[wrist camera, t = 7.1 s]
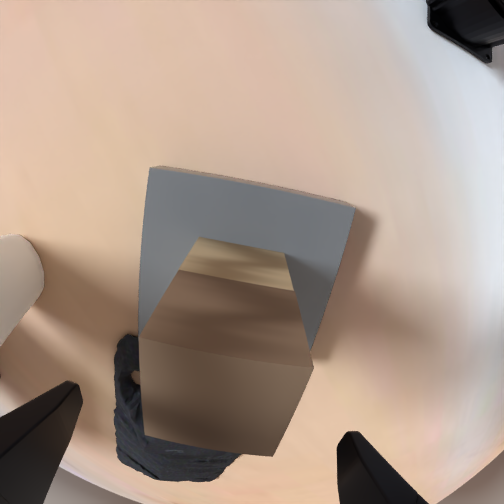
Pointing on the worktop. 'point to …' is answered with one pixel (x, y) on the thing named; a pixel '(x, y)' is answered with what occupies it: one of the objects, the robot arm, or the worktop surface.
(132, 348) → the dark slate chunk
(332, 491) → the worktop surface
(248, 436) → the walnut block
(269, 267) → the oak block
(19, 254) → the foam cup
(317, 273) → the base
